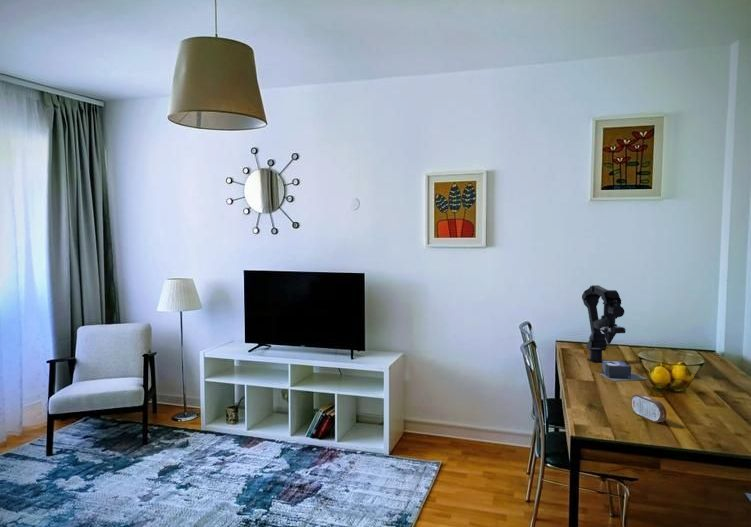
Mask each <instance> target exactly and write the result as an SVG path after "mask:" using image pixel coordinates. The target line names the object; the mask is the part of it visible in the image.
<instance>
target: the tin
mask: <svg viewBox="0 0 751 527" xmlns="http://www.w3.org/2000/svg"><path fill="white" fill-rule="evenodd" d="M630 405H631V409H632V410H633V412H634V413H635V414H636V415H637V416H639V417H641V418H644V419H646V420H647V421H651V423H662V422H664V421H665V420H666V419H667V409H666V407H665V405H664V404H663V402H662V401H661V400H659V399H656V398H655V397H651V396H650V395H649V396H648V395H646V394H645V393H638V394H637V393H636V394H634V395H632V396H631V398H630Z"/></svg>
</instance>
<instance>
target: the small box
mask: <svg viewBox="0 0 751 527" xmlns="http://www.w3.org/2000/svg"><path fill="white" fill-rule="evenodd" d="M631 372H632V366H631V365H630V364H628V363H626V362H625V361H624V360H603V361H602V362H601V373H602V374H605V375H606V376H607V377H608V378H628V379H631ZM608 378H607V379H608Z"/></svg>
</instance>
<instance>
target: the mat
mask: <svg viewBox="0 0 751 527" xmlns="http://www.w3.org/2000/svg"><path fill="white" fill-rule="evenodd" d="M601 375H602V377H604V378H605V379H608V380H611V381H613V382H624V381H625V382H626V380H629V381H645V380H648V378H646V377H644V376H641V375H639V374H638V373H637V374H636V373H634V372H632V371H631V379H628V378H608V377H607V376H606V375H605V374H604V373H599V376H601Z"/></svg>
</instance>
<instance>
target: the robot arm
mask: <svg viewBox="0 0 751 527" xmlns="http://www.w3.org/2000/svg"><path fill="white" fill-rule="evenodd" d="M600 298H601V300H602V301H603V302H602V305H603V314H602V315H601V316H600V318H599V313H598V312H599V311H598V308H597V306H598V304H599V303H600V301H599V300H600ZM581 299H582V302H583V305H584V306H585V307H586V309H587V313H588V319H589V320H588V321H589V325H590V331H591V334H590V335H589V338H588V339H589V340H588V342H587V343H586V349H587V350H588V351H589V358H587V360H588V361H590V362H592V363H602V361H604V359H603V351H604V352H605V351H606V349H607V345H610V344H611V342H612V341H613V340H614V338H615V336H616V335H617V334H626V330H627V329H626V328H625V327H623V326H618V324H617V323H616V319H618V318H622V317H623V316H624V315H625V310H624V307H622V306H621V305H622V299H621V297H620V294H619V292H618V291H617V290H615V289H607V288H605V287H602V286H601V285H599V284H598V285H594V284H592V285H590V286H589V288H587V289H585V290H584V291H583V293H582V294H581Z"/></svg>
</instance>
